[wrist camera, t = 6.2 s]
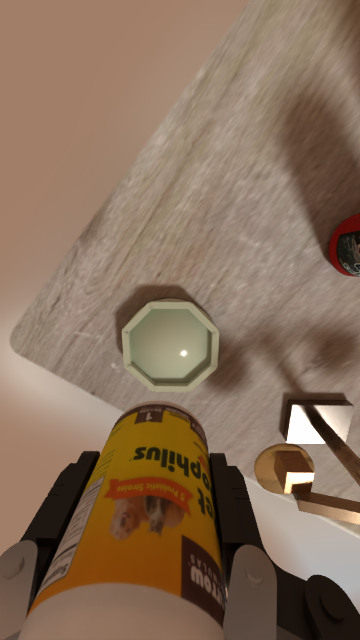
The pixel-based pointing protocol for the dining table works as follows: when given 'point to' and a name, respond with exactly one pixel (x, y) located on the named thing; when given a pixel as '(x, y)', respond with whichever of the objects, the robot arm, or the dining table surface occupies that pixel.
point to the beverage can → (346, 247)
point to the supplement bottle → (139, 540)
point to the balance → (296, 465)
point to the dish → (170, 345)
